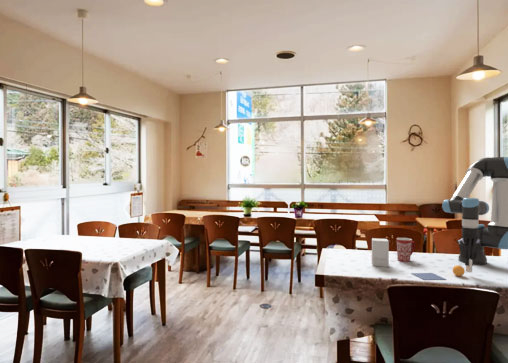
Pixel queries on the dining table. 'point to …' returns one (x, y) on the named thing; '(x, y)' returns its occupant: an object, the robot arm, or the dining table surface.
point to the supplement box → (380, 252)
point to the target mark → (428, 276)
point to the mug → (404, 249)
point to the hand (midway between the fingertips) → (468, 271)
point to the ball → (458, 270)
